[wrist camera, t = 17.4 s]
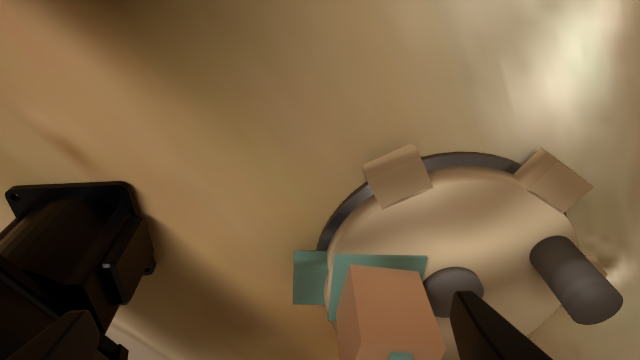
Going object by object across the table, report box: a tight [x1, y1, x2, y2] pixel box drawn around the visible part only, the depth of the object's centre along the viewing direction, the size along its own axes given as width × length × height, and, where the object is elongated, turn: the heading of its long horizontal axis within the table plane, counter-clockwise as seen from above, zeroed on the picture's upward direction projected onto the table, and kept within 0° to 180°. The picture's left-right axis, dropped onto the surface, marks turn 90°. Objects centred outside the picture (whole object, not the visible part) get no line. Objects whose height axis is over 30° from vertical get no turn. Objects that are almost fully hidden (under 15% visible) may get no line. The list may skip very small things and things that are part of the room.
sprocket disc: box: [293, 143, 623, 360], centre depth 22 cm, size 19×18×6 cm
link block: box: [336, 264, 446, 360], centre depth 21 cm, size 4×4×5 cm
